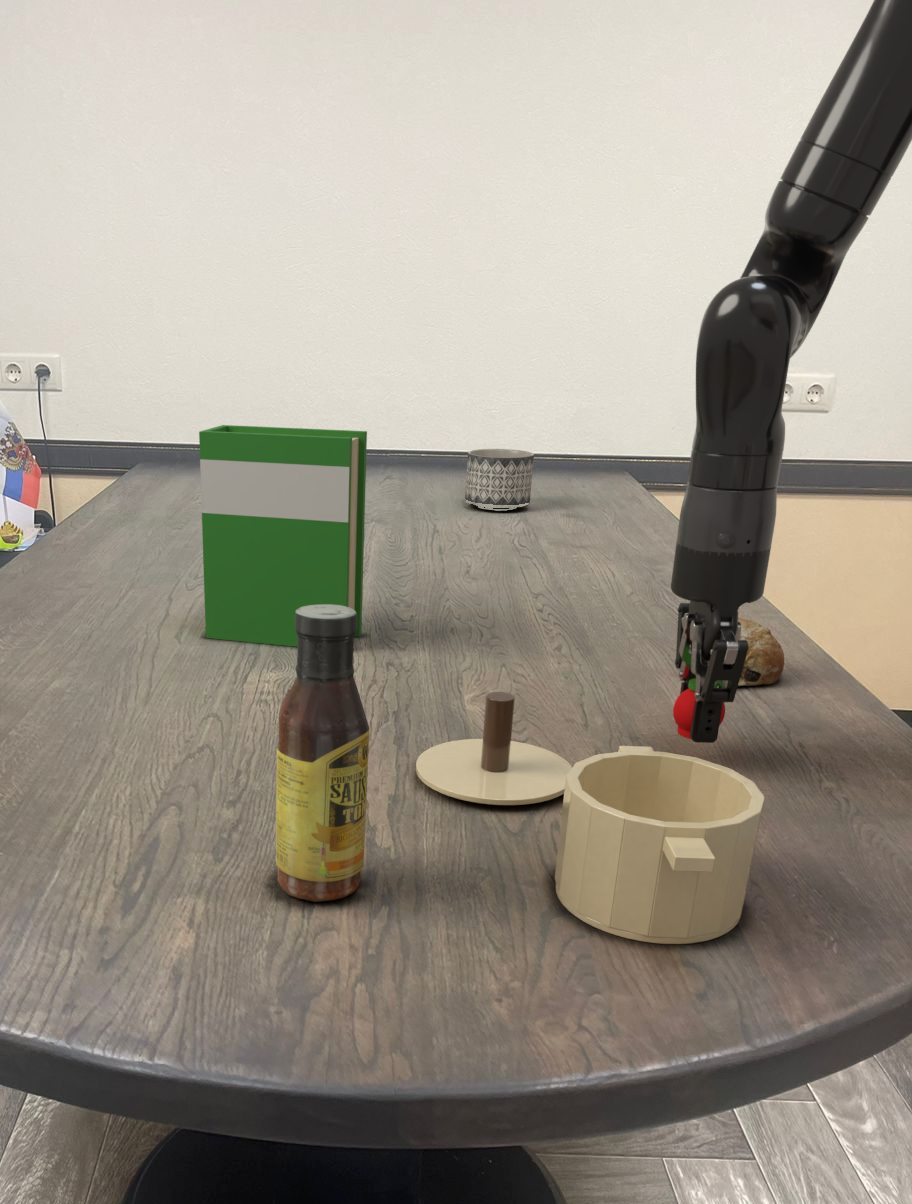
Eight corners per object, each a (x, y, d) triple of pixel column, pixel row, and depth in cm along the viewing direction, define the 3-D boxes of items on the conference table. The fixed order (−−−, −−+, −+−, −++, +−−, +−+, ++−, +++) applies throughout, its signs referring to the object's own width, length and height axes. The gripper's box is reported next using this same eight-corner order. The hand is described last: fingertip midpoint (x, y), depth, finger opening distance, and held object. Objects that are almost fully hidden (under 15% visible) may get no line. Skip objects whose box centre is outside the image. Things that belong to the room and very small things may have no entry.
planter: (526, 503, 223) (531, 449, 219) (531, 514, 212) (536, 458, 207) (463, 501, 224) (467, 448, 220) (465, 512, 213) (469, 456, 209)
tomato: (714, 725, 102) (721, 674, 100) (727, 743, 98) (735, 690, 96) (665, 725, 102) (672, 674, 100) (676, 742, 98) (683, 689, 96)
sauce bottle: (342, 914, 75) (349, 630, 67) (260, 894, 77) (257, 617, 69) (377, 873, 80) (388, 605, 72) (300, 855, 83) (301, 594, 75)
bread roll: (693, 714, 122) (717, 660, 116) (668, 651, 128) (688, 597, 122) (780, 712, 123) (808, 659, 117) (750, 649, 129) (775, 596, 123)
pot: (704, 842, 86) (722, 739, 82) (778, 971, 69) (805, 850, 66) (540, 836, 86) (551, 734, 83) (575, 963, 70) (590, 843, 66)
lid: (561, 751, 102) (570, 673, 99) (584, 815, 90) (595, 727, 87) (413, 747, 103) (417, 669, 100) (417, 809, 91) (421, 722, 87)
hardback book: (361, 634, 137) (367, 431, 126) (345, 651, 130) (349, 438, 120) (227, 622, 141) (222, 424, 131) (205, 637, 135) (199, 431, 125)
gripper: (798, 558, 86) (762, 762, 93) (745, 524, 99) (717, 705, 106) (699, 557, 86) (671, 760, 93) (659, 523, 99) (637, 704, 106)
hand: (696, 730), depth 100 cm, fingers closed on tomato, 4 cm apart
